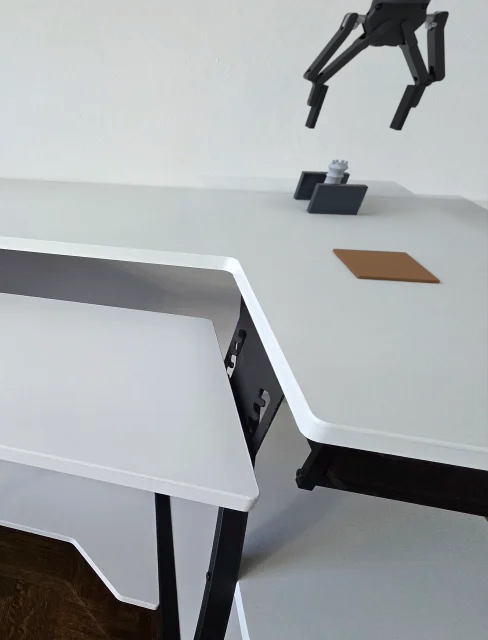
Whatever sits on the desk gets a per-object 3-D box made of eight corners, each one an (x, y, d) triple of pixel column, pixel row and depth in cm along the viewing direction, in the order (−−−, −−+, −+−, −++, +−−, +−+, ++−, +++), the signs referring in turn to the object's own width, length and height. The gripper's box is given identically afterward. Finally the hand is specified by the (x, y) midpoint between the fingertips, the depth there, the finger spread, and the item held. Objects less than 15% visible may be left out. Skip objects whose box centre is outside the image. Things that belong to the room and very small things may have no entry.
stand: (337, 198, 97) (347, 172, 94) (356, 215, 89) (368, 186, 86) (293, 197, 99) (302, 170, 96) (308, 213, 91) (319, 185, 88)
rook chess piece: (339, 210, 92) (357, 164, 87) (312, 208, 93) (329, 163, 88) (334, 202, 95) (351, 159, 90) (308, 201, 96) (323, 157, 92)
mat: (404, 254, 75) (405, 252, 75) (439, 283, 67) (440, 280, 67) (332, 250, 77) (333, 248, 76) (357, 278, 69) (359, 275, 68)
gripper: (492, -30, 74) (421, 125, 87) (313, -25, 79) (269, 122, 91) (525, -33, 68) (443, 134, 81) (329, -28, 73) (280, 130, 85)
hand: (351, 128), depth 86 cm, fingers open, 13 cm apart
